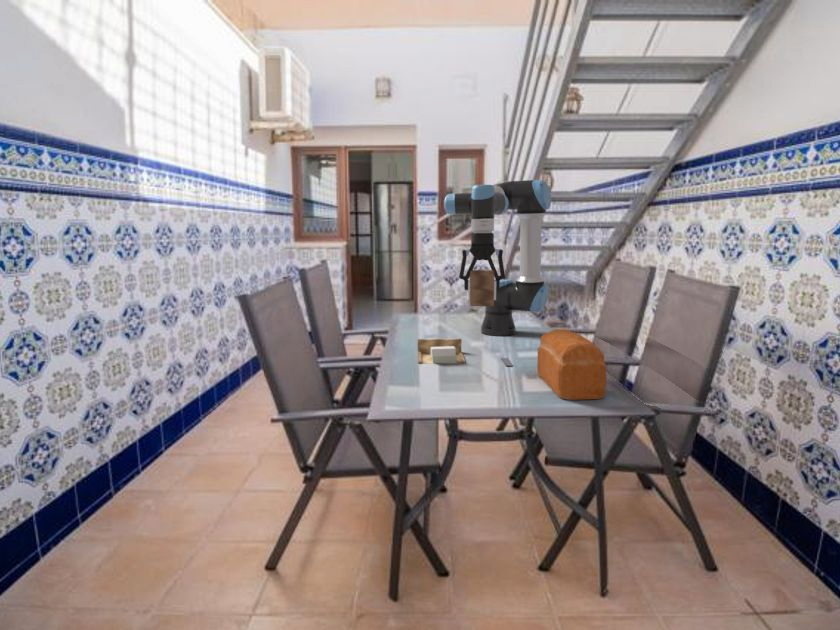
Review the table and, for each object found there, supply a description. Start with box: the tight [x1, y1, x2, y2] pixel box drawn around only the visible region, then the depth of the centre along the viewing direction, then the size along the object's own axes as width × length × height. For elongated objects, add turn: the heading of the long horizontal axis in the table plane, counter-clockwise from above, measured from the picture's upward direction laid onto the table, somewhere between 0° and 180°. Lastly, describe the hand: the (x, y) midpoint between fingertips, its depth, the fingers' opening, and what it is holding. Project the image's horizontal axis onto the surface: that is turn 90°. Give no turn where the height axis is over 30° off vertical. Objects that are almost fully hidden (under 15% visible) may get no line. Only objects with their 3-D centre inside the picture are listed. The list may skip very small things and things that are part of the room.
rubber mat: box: [500, 357, 514, 367], centre depth 186 cm, size 14×10×1 cm
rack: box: [417, 338, 466, 365], centre depth 189 cm, size 16×16×6 cm
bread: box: [536, 329, 607, 401], centre depth 158 cm, size 14×26×16 cm, turn 3°
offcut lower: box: [433, 353, 457, 364], centre depth 183 cm, size 8×4×2 cm, turn 91°
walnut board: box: [468, 269, 495, 307], centre depth 182 cm, size 8×3×12 cm, turn 89°
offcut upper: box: [431, 346, 455, 356], centre depth 183 cm, size 8×4×2 cm, turn 97°
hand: (481, 299), depth 183 cm, fingers closed on walnut board, 8 cm apart
